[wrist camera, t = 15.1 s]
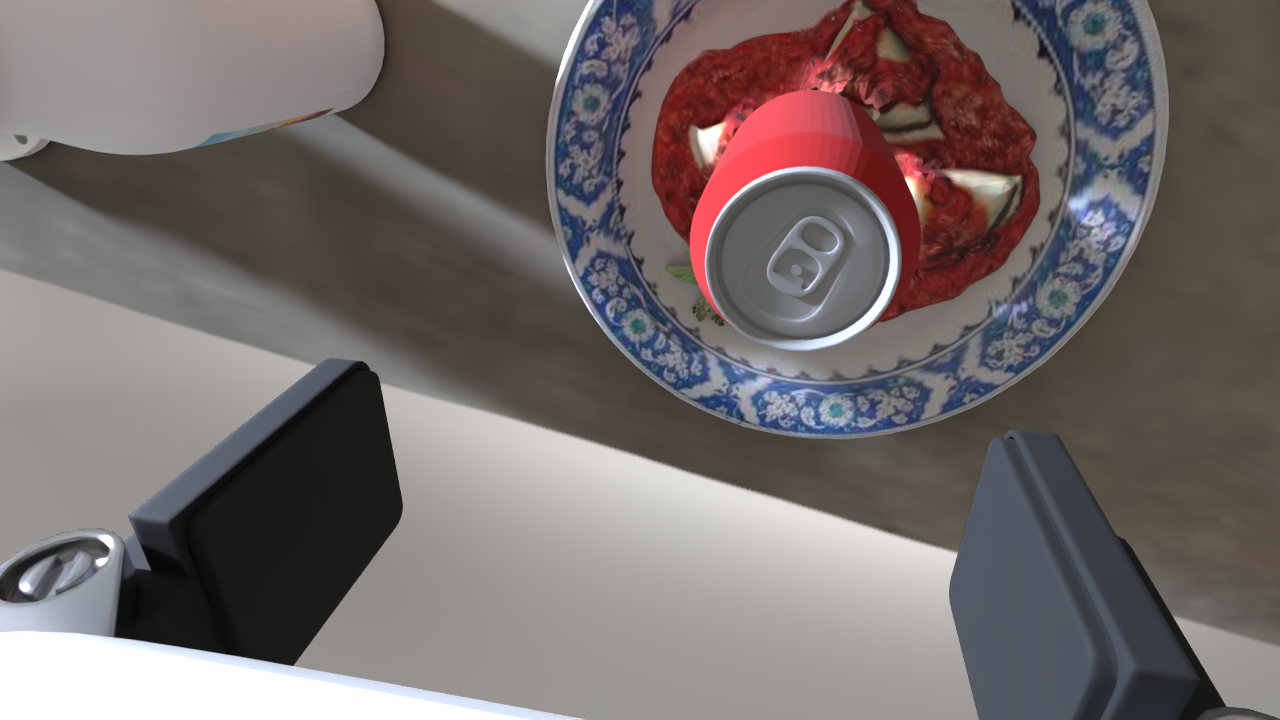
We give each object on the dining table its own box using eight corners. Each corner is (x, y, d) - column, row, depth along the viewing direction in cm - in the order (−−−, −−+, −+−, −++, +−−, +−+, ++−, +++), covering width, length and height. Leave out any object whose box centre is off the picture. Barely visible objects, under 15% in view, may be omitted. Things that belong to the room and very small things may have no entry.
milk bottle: (281, -104, 32) (-330, -209, 15) (417, 16, 34) (-5, 46, 16) (224, 39, 36) (-320, 86, 19) (349, 142, 37) (-56, 277, 20)
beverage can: (695, 196, 32) (638, 298, 21) (782, 53, 28) (764, 90, 18) (823, 275, 32) (830, 413, 22) (923, 142, 29) (988, 230, 18)
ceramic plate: (1016, -341, 24) (1041, -380, 21) (1222, 294, 32) (1258, 322, 29) (459, 74, 34) (430, 81, 32) (716, 477, 42) (709, 509, 39)
